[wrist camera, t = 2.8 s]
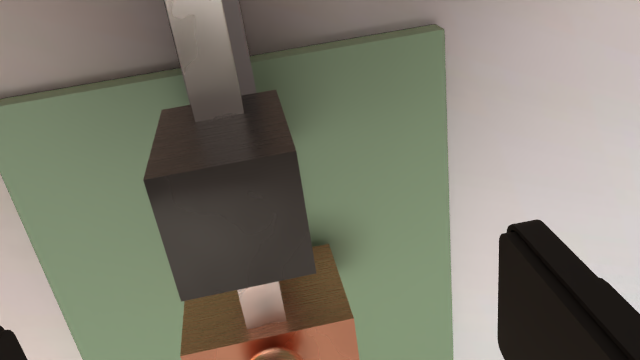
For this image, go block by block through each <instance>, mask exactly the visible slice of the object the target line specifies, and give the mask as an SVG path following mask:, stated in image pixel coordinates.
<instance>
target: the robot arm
mask: <svg viewBox="0 0 640 360" xmlns="http://www.w3.org/2000/svg"><path fill="white" fill-rule="evenodd" d="M498 344H499V348H500V351H501V353H502V355H503V357H504V359H505V360H640V314H639V313H638V312H637V311H636V310H635V309H634V308H633V307H632V306H631V305H630V304H629V303H628V302H627V301H626V300H625V299H624V298H623V297H622V296H621V295H620V294H619V293H618V292H617V291H616V290H615V289H614V288H613V287H612V286H611V285H610V284H609V283H607V282H606V281H605V280H603V279H602V278H598V277H597V276H596V275H595V274H594V273H593V272H592V271H591V270H590V269H589V268H588V267H587V266H586V265H585V264H584V263H583V262H582V261H581V260H580V259H579V258H578V257H577V256H576V255H575V254H574V253H573V252H572V251H571V250H570V249H569V248H568V247H567V246H566V245H565V244H564V243H563V242H562V241H561V240H560V239H559V238H558V237H557V236H556V235H555V234H554V233H553V232H552V231H551V230H550V229H549V228H548V227H547V226H546V225H545V224H544V223H543V222H542V221H541V220H532V221H527V222H522V223H517V224H512V225H510V226H508V229H507V233H504V234H501V235H500V238H499V282H498ZM0 360H27V358H26V356H25V354H24V352H23V350H22V348H21V346H20V344H19V342H18V340H17V338H16V336H15V334H14V333H13V332H12V331H11V330H4V329H3V327H2V326H0Z"/></svg>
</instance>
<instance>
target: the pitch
mask: <svg viewBox="0 0 640 360" xmlns="http://www.w3.org/2000/svg"><path fill="white" fill-rule="evenodd" d="M222 3H223V8H224V13H225V18H226V23H227V28H228V33H229V38H230V43H231V48H232V52H233V57H234V62H235V67H236V72H237V77H238V82H239V87H240V92H241V96H242V95H247V94H253V93H259V92H264V91H270V90H275V89H276V91H277V94H278V97H279V100H280V103H281V106H282V109H283V112H284V115H285V118H286V121H287V124H288V127H289V130H290V133H291V136H292V139H293V142H294V145H295V148H296V152H297V158H298V164H299V170H300V176H301V182H302V188H303V194H304V200H305V207H306V213H307V219H308V225H309V231H310V237H311V243H312V247H315V246H320V245H325V244H329V246H330V249H331V251H332V254H333V257H334V260H335V263H336V266H337V269H338V272H339V275H340V278H341V281H342V284H343V287H344V290H345V293H346V296H347V299H348V302H349V305H350V308H351V311H352V314H353V317H354V322H355V330H356V337H357V345H358V353H359V360H453V331H452V294H451V257H450V220H449V183H448V146H447V109H446V72H445V35H444V29H443V28H441V27H439V26H437V25H435V24H433V25H428V26H422V27H416V28H410V29H404V30H399V31H393V32H387V33H381V34H375V35H370V36H364V37H358V38H352V39H346V40H340V41H335V42H329V43H323V44H317V45H311V46H306V47H300V48H294V49H288V50H282V51H277V52H271V53H265V54H259V55H253V56H249V51H248V45H247V40H246V35H245V30H244V24H243V19H242V14H241V9H240V3H239V0H222ZM164 4H165V8H166V12H167V16H168V20H169V24H170V28H171V32H172V36H173V40H174V44H175V48H176V52H177V56H178V60H179V64H180V67H181V63H180V59H179V55H178V51H177V47H176V43H175V39H174V35H173V31H172V27H171V23H170V19H169V15H168V11H167V7H166V3H165V0H164ZM186 105H191V103H190V99H189V95H188V91H187V87H186V83H185V79H184V75H183V71H182V67H181V68H178V69H172V70H166V71H160V72H155V73H149V74H143V75H137V76H131V77H126V78H120V79H114V80H108V81H102V82H97V83H91V84H85V85H79V86H73V87H67V88H62V89H56V90H50V91H44V92H38V93H33V94H27V95H21V96H15V97H9V98H4V99H0V173H1V176H2V178H3V180H4V183H5V185H6V187H7V189H8V192H9V194H10V196H11V198H12V201H13V203H14V205H15V207H16V210H17V212H18V214H19V216H20V219H21V221H22V223H23V225H24V228H25V230H26V232H27V235H28V237H29V239H30V241H31V244H32V246H33V248H34V250H35V253H36V255H37V257H38V259H39V262H40V264H41V266H42V268H43V271H44V273H45V275H46V278H47V280H48V282H49V284H50V287H51V289H52V291H53V293H54V296H55V298H56V300H57V302H58V305H59V307H60V309H61V311H62V314H63V316H64V318H65V320H66V323H67V325H68V327H69V330H70V332H71V334H72V336H73V339H74V341H75V343H76V345H77V348H78V350H79V352H80V354H81V357H82V359H83V360H181V357H180V352H181V339H182V326H183V314H184V301H182V302H181V300H180V297H179V293H178V290H177V287H176V284H175V281H174V277H173V274H172V271H171V268H170V265H169V261H168V258H167V255H166V252H165V248H164V245H163V242H162V239H161V236H160V232H159V229H158V226H157V223H156V220H155V216H154V213H153V210H152V207H151V204H150V200H149V197H148V194H147V191H146V188H145V184H144V181H143V179H144V175H145V171H146V167H147V163H148V160H149V156H150V152H151V148H152V144H153V141H154V137H155V133H156V129H157V126H158V122H159V118H160V114H161V110H163V109H169V108H175V107H180V106H186Z"/></svg>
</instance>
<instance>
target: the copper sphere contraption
mask: <svg viewBox="0 0 640 360" xmlns="http://www.w3.org/2000/svg"><path fill="white" fill-rule="evenodd" d="M165 3H166V7H167V11H168V15H169V19H170V23H171V27H172V31H173V35H174V39H175V43H176V47H177V51H178V55H179V59H180V63H181V67H182V71H183V75H184V79H185V83H186V87H187V91H188V95H189V99H190V103H191V105H186V106H180V107H175V108H169V109H163V110H161V114H160V118H159V122H158V126H157V129H156V133H155V137H154V141H153V144H152V148H151V152H150V156H149V160H148V163H147V167H146V171H145V175H144V179H143V181H144V184H145V188H146V191H147V194H148V197H149V200H150V204H151V207H152V210H153V213H154V216H155V220H156V223H157V226H158V229H159V232H160V236H161V239H162V242H163V245H164V248H165V252H166V255H167V258H168V261H169V265H170V268H171V271H172V274H173V277H174V281H175V284H176V287H177V290H178V293H179V297H180V300H181V302H182V301H184V314H183V326H182V339H181V352H180V357H181V360H359V353H358V345H357V337H356V330H355V322H354V317H353V314H352V311H351V308H350V305H349V302H348V299H347V296H346V293H345V290H344V287H343V284H342V281H341V278H340V275H339V272H338V269H337V266H336V263H335V260H334V257H333V254H332V251H331V249H330V246H329V244H325V245H320V246H315V247H312V243H311V237H310V231H309V225H308V219H307V213H306V207H305V200H304V194H303V188H302V182H301V176H300V170H299V164H298V158H297V152H296V148H295V145H294V142H293V139H292V136H291V133H290V130H289V127H288V124H287V121H286V118H285V115H284V112H283V109H282V106H281V103H280V100H279V97H278V94H277V91H276V89H275V90H270V91H264V92H259V93H253V94H247V95H242V96H241V92H240V87H239V82H238V77H237V72H236V67H235V62H234V57H233V52H232V48H231V43H230V38H229V33H228V28H227V23H226V18H225V13H224V8H223V3H222V0H165Z"/></svg>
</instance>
